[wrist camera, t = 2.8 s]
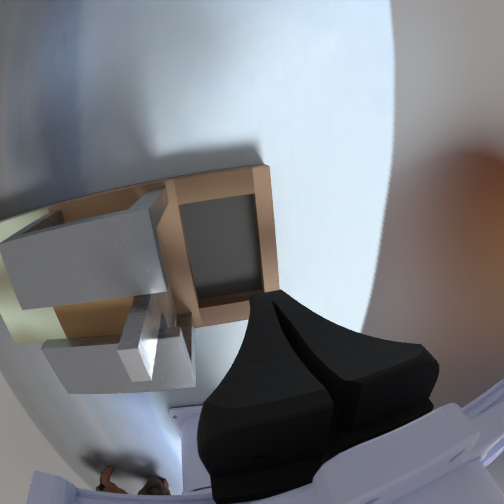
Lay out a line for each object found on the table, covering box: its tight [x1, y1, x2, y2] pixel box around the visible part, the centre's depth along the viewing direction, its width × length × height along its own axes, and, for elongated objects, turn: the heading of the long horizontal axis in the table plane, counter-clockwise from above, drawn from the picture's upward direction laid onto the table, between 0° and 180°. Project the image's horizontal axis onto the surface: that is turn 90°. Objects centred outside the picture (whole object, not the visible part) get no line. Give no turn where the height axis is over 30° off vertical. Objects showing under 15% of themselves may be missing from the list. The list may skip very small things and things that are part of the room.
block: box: [53, 296, 135, 338], centre depth 15 cm, size 5×5×4 cm
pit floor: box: [180, 194, 262, 300], centre depth 19 cm, size 7×4×1 cm, turn 6°
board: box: [0, 164, 279, 344], centre depth 18 cm, size 10×22×2 cm, turn 96°
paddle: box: [117, 228, 176, 382], centre depth 13 cm, size 6×1×9 cm, turn 6°
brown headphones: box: [96, 467, 171, 495], centre depth 27 cm, size 12×10×8 cm
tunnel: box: [0, 186, 196, 394], centre depth 15 cm, size 9×8×6 cm
